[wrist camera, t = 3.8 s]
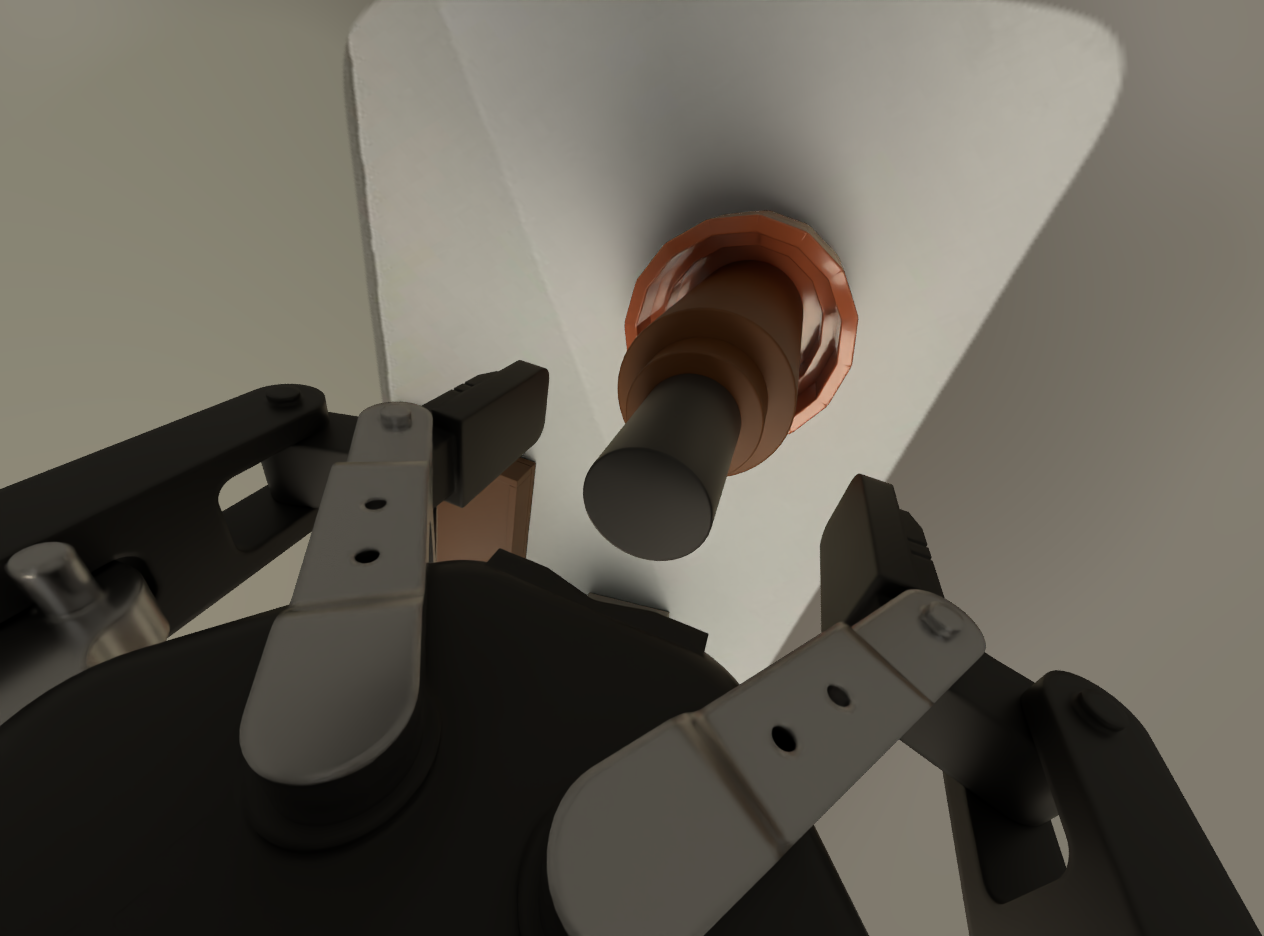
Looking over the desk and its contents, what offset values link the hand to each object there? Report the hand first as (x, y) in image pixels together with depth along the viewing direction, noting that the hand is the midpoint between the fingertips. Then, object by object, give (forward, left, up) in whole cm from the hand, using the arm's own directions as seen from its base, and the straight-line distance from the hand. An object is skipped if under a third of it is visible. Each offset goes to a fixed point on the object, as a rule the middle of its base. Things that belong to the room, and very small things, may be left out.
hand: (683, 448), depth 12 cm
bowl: (0, 0, -15) cm, 15 cm away
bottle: (0, 0, -14) cm, 14 cm away
